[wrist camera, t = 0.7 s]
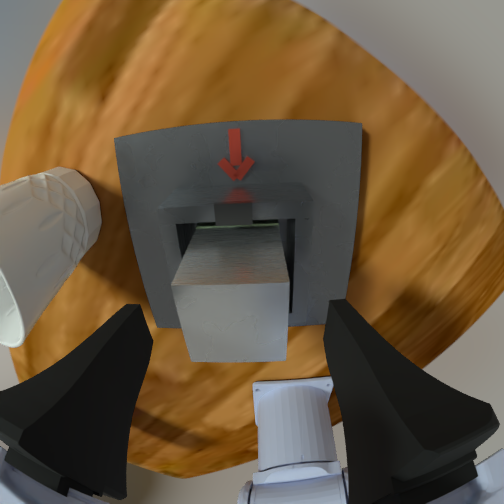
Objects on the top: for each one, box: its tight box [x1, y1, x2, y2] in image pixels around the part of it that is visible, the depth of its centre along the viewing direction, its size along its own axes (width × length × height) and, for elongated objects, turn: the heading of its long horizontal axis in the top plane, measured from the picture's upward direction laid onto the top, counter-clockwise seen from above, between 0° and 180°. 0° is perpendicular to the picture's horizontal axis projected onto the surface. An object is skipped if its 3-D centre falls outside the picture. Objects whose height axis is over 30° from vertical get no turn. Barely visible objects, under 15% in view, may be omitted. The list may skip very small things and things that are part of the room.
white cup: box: [0, 167, 102, 348], centre depth 12 cm, size 8×8×10 cm
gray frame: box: [114, 120, 362, 328], centre depth 15 cm, size 14×14×5 cm
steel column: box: [171, 219, 290, 362], centre depth 13 cm, size 4×4×7 cm
